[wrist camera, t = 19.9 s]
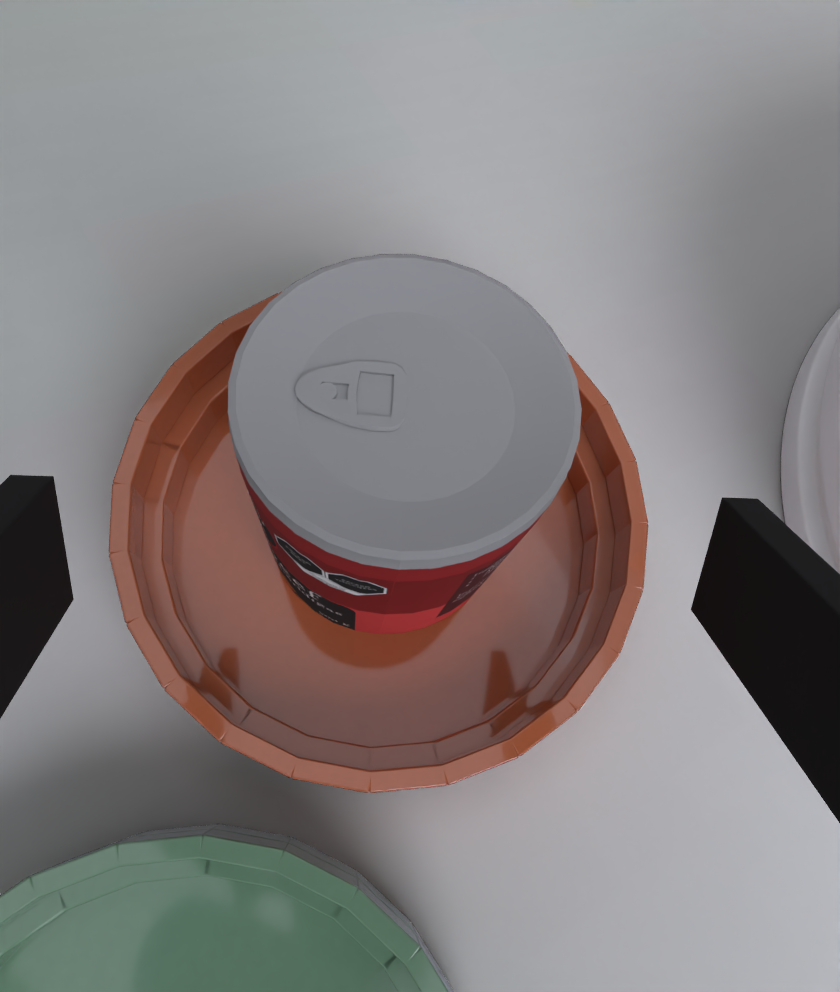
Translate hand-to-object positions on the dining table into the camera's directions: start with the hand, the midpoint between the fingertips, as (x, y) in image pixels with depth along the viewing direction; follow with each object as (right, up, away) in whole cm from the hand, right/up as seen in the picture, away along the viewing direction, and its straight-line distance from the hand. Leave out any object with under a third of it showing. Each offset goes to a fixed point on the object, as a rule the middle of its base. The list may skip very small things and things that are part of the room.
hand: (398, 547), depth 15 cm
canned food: (-1, 0, +12) cm, 12 cm away
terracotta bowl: (-1, 0, +12) cm, 12 cm away
